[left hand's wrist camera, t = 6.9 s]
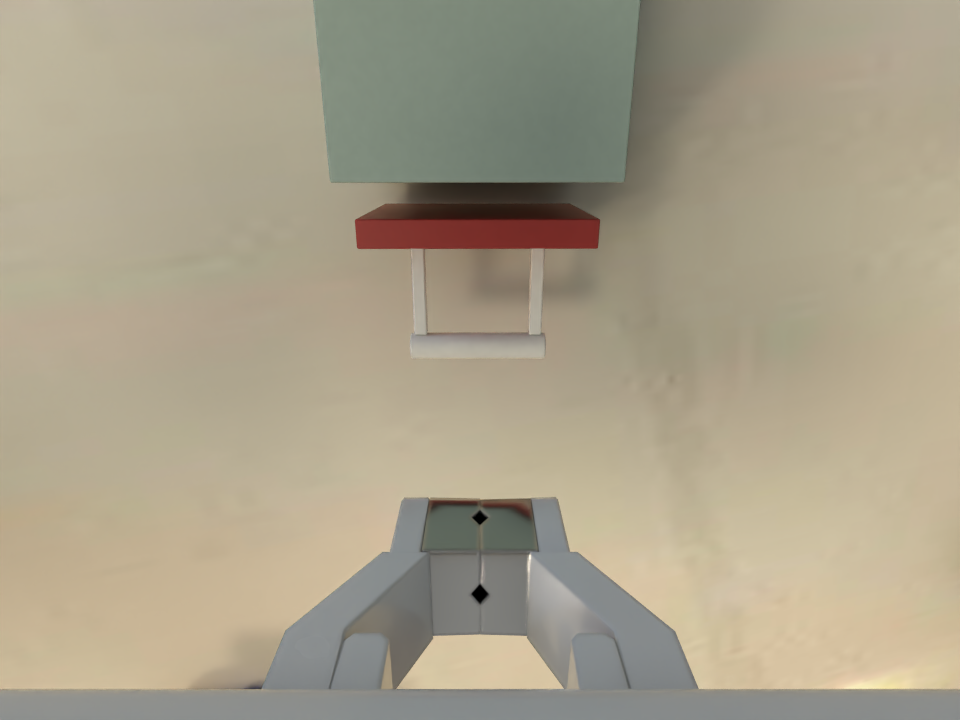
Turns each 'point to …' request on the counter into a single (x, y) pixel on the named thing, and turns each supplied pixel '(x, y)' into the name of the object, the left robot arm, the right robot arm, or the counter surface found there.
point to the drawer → (477, 231)
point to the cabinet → (476, 89)
